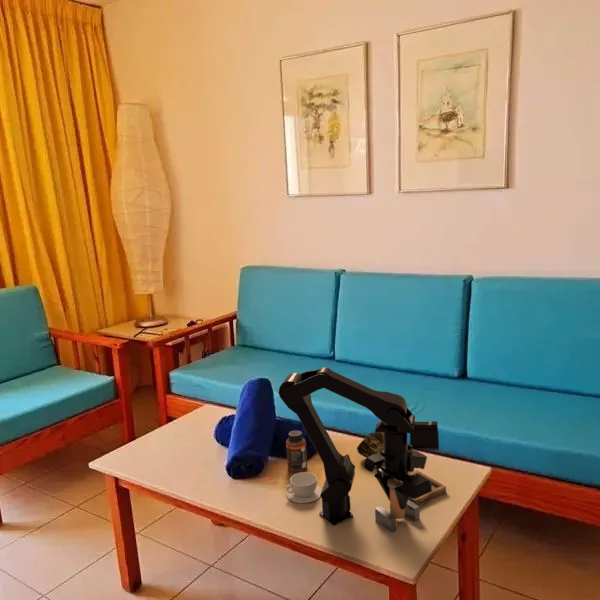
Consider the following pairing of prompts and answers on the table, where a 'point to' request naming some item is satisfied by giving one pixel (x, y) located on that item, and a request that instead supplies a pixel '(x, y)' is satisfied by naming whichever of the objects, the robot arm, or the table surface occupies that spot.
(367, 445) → the seashell
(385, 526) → the hitch bracket
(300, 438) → the supplement bottle
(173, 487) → the table surface
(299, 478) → the teacup
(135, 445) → the table surface
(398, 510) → the pin
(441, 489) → the tray
